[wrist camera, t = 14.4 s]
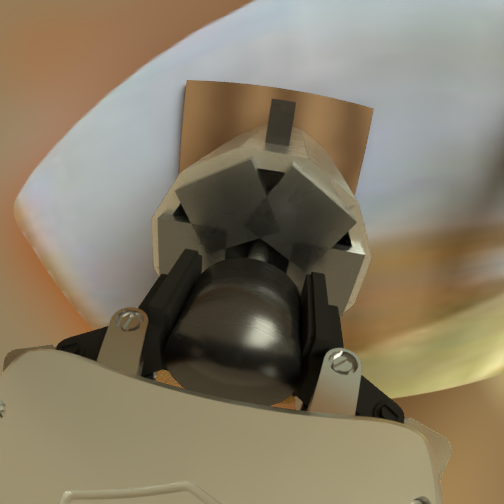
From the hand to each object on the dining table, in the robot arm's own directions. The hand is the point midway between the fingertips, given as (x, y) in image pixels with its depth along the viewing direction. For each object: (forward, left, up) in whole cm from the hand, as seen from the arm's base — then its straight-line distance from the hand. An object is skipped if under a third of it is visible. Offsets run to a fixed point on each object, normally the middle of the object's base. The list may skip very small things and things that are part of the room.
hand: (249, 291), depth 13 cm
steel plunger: (0, 0, -14) cm, 14 cm away
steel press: (0, -1, -18) cm, 18 cm away
